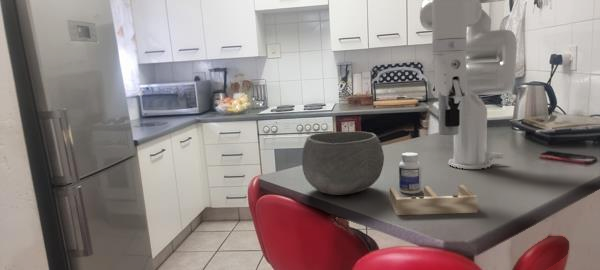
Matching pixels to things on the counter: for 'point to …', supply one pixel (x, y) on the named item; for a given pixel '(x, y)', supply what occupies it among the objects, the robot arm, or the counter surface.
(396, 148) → the counter surface
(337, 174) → the bowl
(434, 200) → the slot rack
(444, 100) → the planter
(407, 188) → the pill bottle
